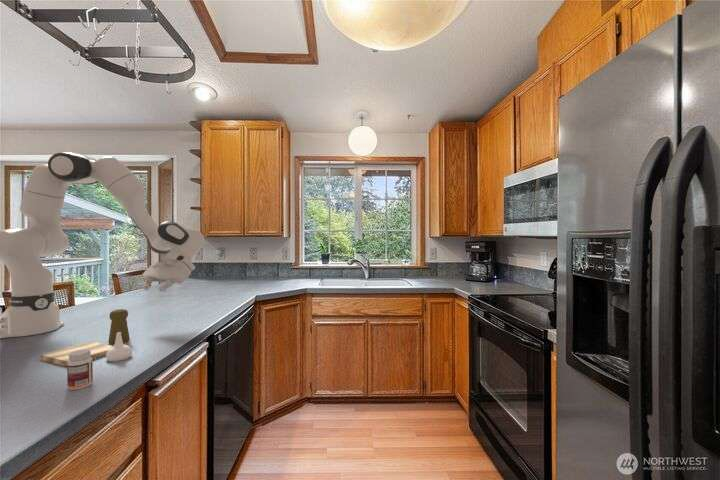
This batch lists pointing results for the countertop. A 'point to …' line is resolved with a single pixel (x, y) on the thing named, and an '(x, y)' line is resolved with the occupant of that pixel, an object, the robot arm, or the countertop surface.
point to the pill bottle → (79, 369)
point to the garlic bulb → (118, 350)
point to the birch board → (63, 354)
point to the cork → (119, 325)
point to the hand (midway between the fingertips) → (152, 289)
